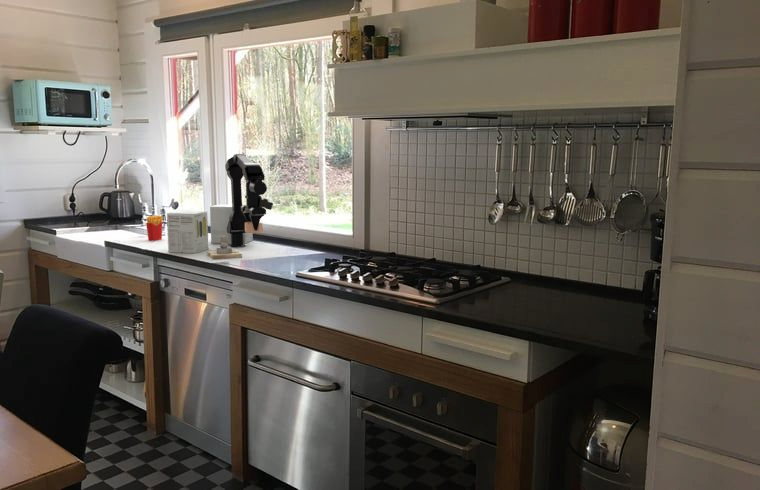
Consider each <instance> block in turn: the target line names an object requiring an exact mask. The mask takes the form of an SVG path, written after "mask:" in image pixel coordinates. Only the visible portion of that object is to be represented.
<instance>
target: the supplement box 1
mask: <svg viewBox="0 0 760 490" xmlns="http://www.w3.org/2000/svg"><path fill="white" fill-rule="evenodd" d="M208 221H209V220H208V211H207V210H189V209H188V210H186V209H185V210H184V209H182V210H176V211H171V212H167V213H166V223H167V224H166V225H167V247H168V249H167V252H169V253H181V252H183V254H196V253H200V252H203V251H206V250H208V249H209V229H208V228H209V225H208V224H209V223H208Z"/></svg>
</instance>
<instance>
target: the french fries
mask: <svg viewBox="0 0 760 490" xmlns="http://www.w3.org/2000/svg"><path fill="white" fill-rule="evenodd" d="M163 219H164V218H163V216H161V215H158V214H157V215H151V216H147V217H146V223H145V225H146V232H147V233H146V234H147V239H148V241H151V242H153V241H161V240H162V238H163V237H162V236H163Z"/></svg>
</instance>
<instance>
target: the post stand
mask: <svg viewBox="0 0 760 490" xmlns="http://www.w3.org/2000/svg"><path fill="white" fill-rule="evenodd" d="M206 256H208V257H209V258H211V259H212V258H213V259H212V260H220V259H222V258H224V259H234V257H238V258H242V257H243V254H242V252H240V251H238V250H236V249H233V247H231V246H228V244H227V236H221V243H220V246H218V247H216V250H208V251H206ZM222 260H223V259H222Z"/></svg>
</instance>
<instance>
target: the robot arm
mask: <svg viewBox="0 0 760 490" xmlns="http://www.w3.org/2000/svg"><path fill="white" fill-rule="evenodd" d="M224 167H225V171H226V175H227V177H228V178H229V180H230V188H231V190H230V191H231V205H232V213H231V215H230V217H229V222H228V225H227V233H229V234H231V244H228V246H229V247H232V248H237V247H246V246H247V245H246V244H244V240H243V233H246V232H245V223H246V222H252V224H253V227H254V230H255V231H256V230H258V226H259V222H261V218H263V217H265V215H267V210H269V211H271V210H272V208H273V205H274V203H273V202H270V201H269V200H268V199H267V198H264V197H263V198H262V195H264V194H265V193H267V190H268V187H267V184H266V183H265V182H264V181H265V178H266V176H265V173H264V170H263V168H262V166H261V165H260V164H259V163H256V162H252V161H251V160H250V159H249V158H248V157H247V155H246V154H244V153H235V154H233V156H232V157H230V158H228V159H227V160H226V163H225V166H224ZM243 177H244V179H245V180H244V181H245V182H244V183H245V195H244V198H245V199H246V200H245V203H246V204H243V194H242V193H243V191H242V179H243ZM231 230H232V231H231ZM235 230H242V231H235Z"/></svg>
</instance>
